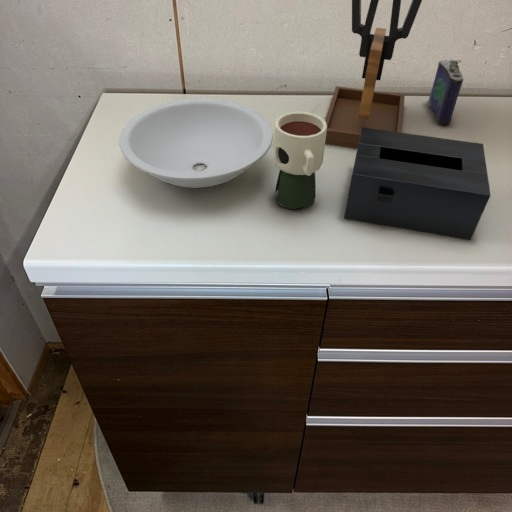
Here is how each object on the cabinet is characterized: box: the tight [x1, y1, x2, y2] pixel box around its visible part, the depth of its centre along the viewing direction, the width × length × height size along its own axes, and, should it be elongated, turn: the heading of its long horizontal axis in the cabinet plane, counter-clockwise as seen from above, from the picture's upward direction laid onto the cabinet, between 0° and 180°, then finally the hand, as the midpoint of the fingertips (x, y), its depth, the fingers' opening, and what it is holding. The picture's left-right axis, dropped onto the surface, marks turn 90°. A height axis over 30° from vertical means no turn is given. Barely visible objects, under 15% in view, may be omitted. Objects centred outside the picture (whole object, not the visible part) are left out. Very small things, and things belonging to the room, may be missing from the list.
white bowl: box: [118, 97, 274, 189], centre depth 77 cm, size 24×24×7 cm
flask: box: [427, 59, 464, 127], centre depth 89 cm, size 9×3×11 cm, turn 1°
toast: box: [358, 27, 387, 119], centre depth 83 cm, size 10×2×12 cm, turn 165°
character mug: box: [273, 111, 327, 210], centre depth 69 cm, size 11×7×13 cm, turn 12°
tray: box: [324, 85, 406, 149], centre depth 89 cm, size 18×14×3 cm
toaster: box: [343, 127, 492, 241], centre depth 70 cm, size 18×14×8 cm
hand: (371, 75), depth 83 cm, fingers closed on toast, 2 cm apart
